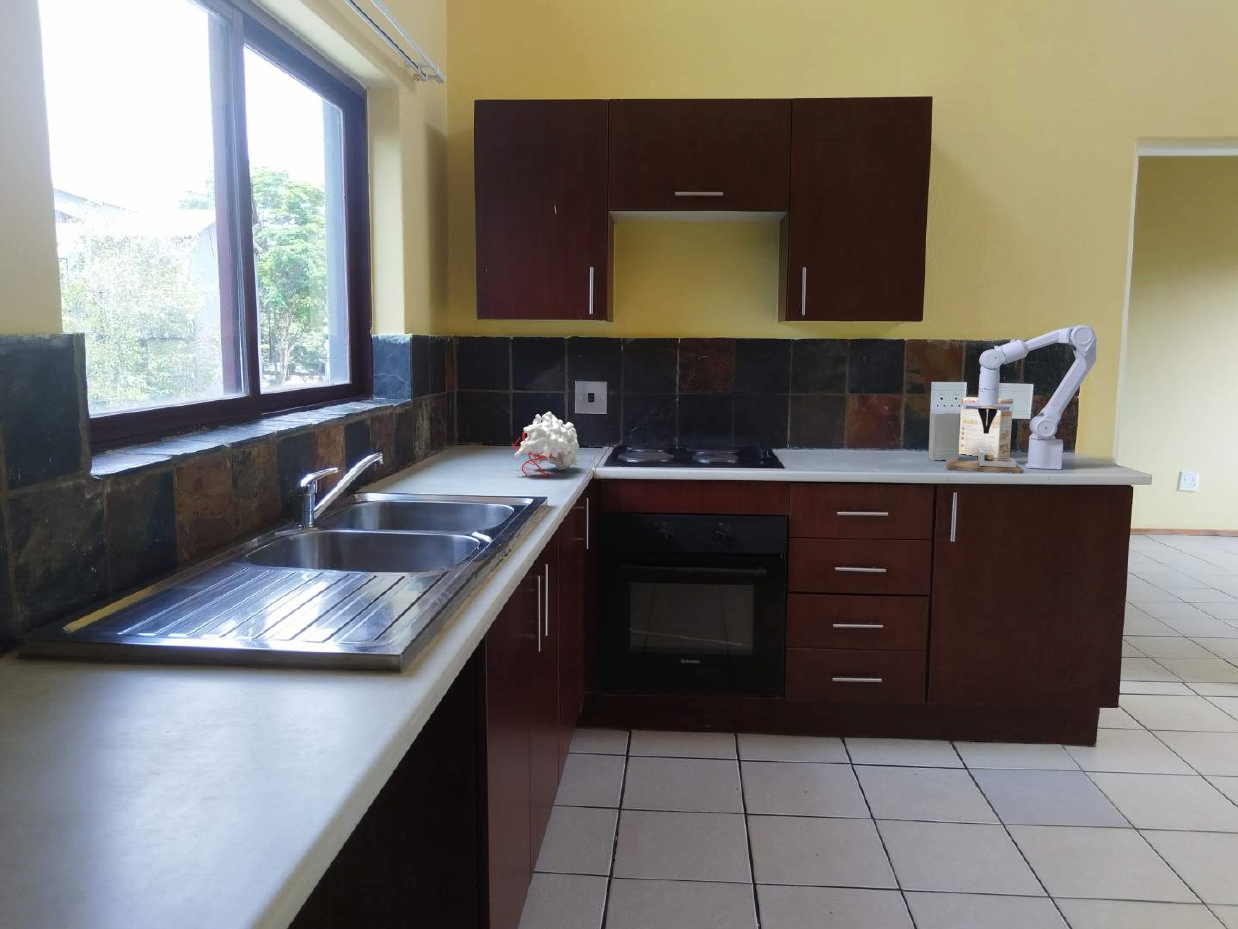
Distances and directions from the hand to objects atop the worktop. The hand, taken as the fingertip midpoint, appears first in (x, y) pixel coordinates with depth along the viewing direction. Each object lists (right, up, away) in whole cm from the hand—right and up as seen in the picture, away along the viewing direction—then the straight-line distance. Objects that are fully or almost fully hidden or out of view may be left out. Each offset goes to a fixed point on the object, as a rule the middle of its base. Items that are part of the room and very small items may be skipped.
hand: (986, 433), depth 279 cm
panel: (0, -10, -7) cm, 12 cm away
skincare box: (-9, -8, +13) cm, 18 cm away
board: (-4, -11, -6) cm, 13 cm away
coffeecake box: (+9, -7, +24) cm, 26 cm away
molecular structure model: (-133, -13, -23) cm, 136 cm away
